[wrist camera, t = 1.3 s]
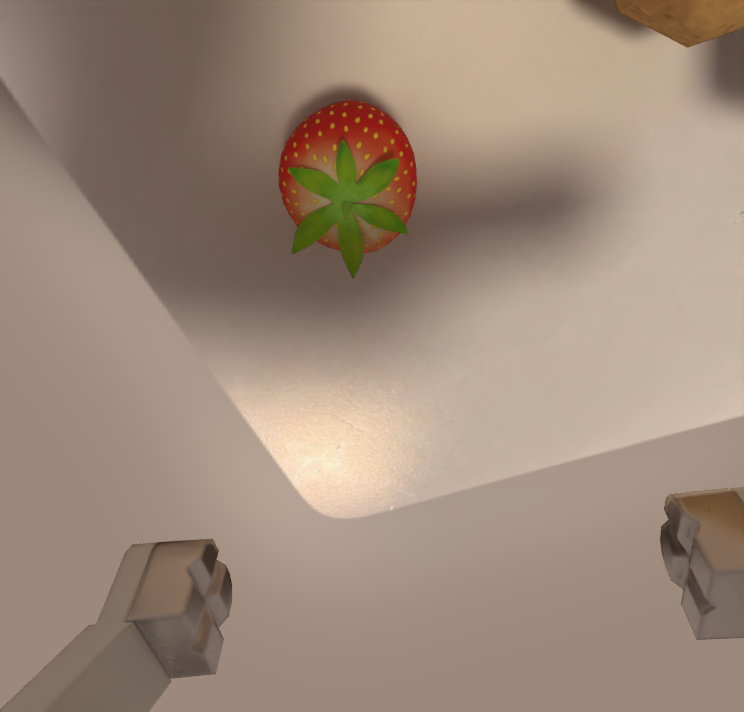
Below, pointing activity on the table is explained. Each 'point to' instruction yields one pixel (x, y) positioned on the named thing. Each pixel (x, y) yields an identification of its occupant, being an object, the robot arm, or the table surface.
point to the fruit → (348, 180)
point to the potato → (686, 17)
